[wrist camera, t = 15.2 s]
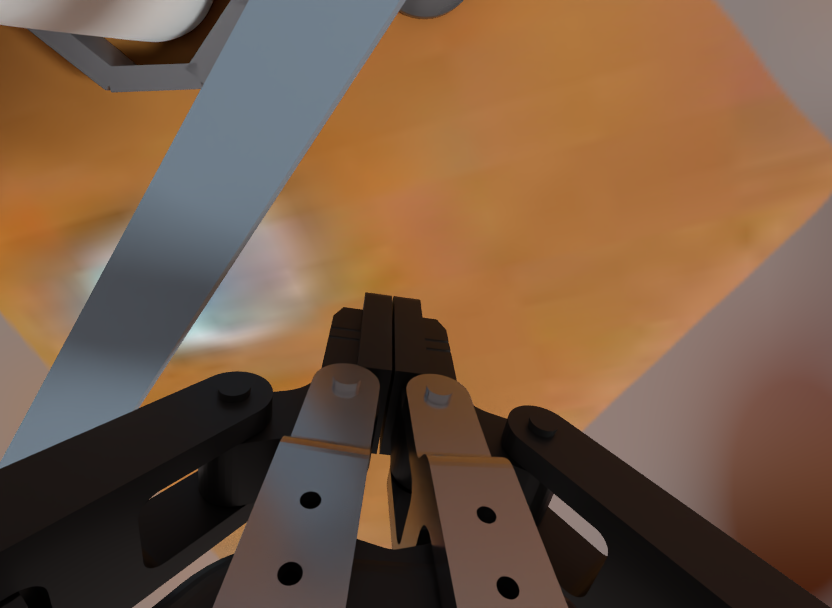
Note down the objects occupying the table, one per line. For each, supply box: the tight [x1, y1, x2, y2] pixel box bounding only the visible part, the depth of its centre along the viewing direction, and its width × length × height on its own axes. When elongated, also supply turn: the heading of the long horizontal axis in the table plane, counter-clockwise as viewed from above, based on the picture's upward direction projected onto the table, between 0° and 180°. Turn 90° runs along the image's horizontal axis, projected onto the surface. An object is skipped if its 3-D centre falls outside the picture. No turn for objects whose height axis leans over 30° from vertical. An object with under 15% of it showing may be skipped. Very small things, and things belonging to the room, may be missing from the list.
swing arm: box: [0, 0, 406, 469], centre depth 10 cm, size 21×4×2 cm, turn 142°
